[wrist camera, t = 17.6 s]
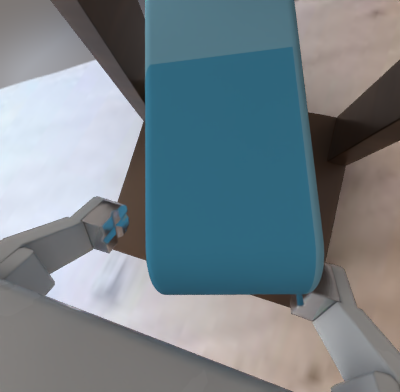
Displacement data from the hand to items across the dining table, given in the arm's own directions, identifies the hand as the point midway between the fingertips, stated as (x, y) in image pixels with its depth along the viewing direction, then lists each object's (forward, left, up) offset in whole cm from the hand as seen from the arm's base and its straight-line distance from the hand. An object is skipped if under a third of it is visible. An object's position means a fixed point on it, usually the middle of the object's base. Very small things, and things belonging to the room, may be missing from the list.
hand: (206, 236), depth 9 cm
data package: (+1, -4, -8) cm, 9 cm away
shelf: (0, -4, -10) cm, 11 cm away
